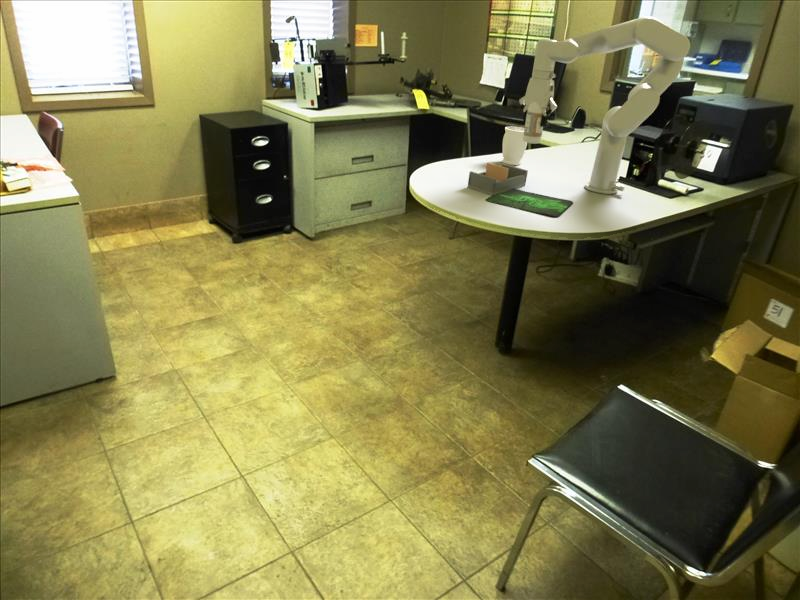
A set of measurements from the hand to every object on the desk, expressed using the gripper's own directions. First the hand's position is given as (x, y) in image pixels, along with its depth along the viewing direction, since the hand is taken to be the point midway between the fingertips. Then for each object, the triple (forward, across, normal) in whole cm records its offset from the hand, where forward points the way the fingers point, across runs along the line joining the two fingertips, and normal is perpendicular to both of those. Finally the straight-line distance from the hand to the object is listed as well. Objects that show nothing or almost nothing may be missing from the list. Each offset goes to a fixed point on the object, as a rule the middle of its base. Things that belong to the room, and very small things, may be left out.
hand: (534, 124), depth 221 cm
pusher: (+21, +1, +22) cm, 30 cm away
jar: (+22, +19, -18) cm, 34 cm away
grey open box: (+22, +1, +18) cm, 29 cm away
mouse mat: (+23, -17, +24) cm, 37 cm away
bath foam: (+7, 0, 0) cm, 7 cm away
